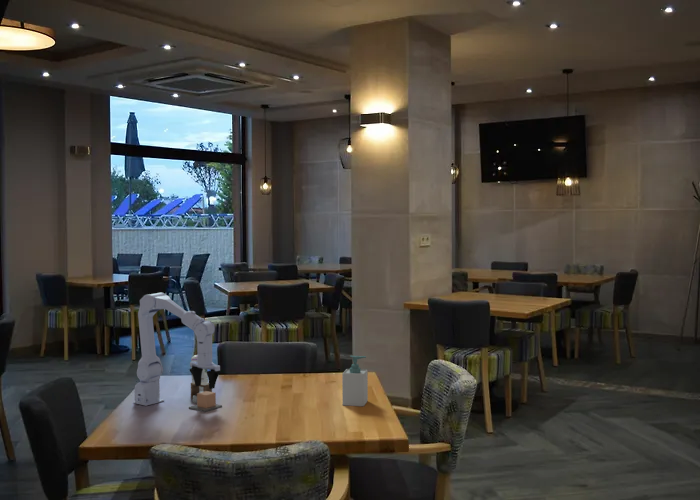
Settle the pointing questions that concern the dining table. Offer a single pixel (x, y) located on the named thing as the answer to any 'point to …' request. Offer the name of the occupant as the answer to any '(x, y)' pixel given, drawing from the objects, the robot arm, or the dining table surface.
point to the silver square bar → (196, 397)
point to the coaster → (205, 408)
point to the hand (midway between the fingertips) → (205, 387)
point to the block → (206, 399)
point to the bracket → (196, 388)
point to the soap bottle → (355, 384)
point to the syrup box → (204, 375)
